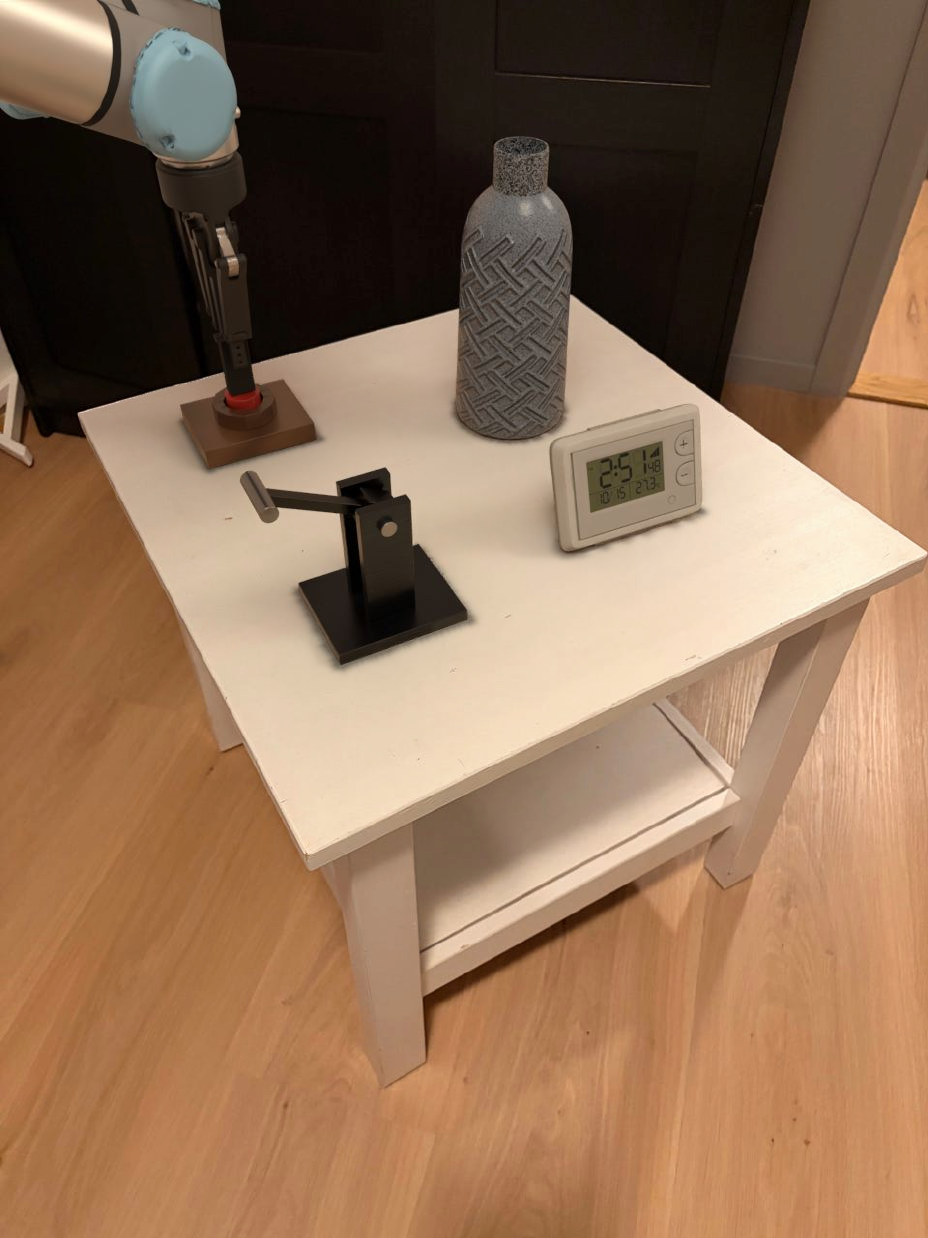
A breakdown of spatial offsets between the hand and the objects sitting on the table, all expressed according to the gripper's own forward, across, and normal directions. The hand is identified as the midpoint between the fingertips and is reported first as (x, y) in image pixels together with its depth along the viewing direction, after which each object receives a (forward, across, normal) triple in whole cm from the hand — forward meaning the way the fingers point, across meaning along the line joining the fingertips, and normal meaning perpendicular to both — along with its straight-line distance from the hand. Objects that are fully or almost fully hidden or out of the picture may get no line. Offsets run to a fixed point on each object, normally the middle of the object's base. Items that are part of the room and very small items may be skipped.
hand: (241, 389), depth 98 cm
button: (+2, 0, 0) cm, 2 cm away
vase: (+5, -10, -28) cm, 30 cm away
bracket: (+5, -32, -2) cm, 32 cm away
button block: (+5, 0, 0) cm, 5 cm away
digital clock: (+5, -32, -28) cm, 43 cm away
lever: (-7, -32, +3) cm, 33 cm away
